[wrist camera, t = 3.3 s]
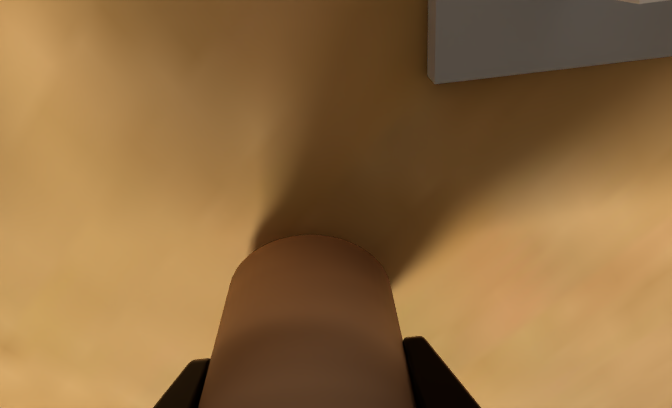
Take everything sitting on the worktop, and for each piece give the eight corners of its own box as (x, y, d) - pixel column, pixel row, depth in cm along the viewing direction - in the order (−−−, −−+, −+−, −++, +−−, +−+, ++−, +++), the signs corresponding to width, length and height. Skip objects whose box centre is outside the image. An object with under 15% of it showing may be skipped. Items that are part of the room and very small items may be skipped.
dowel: (393, 346, 11) (448, 626, 7) (248, 360, 11) (200, 648, 7) (388, 225, 9) (462, 510, 5) (210, 245, 9) (100, 544, 5)
